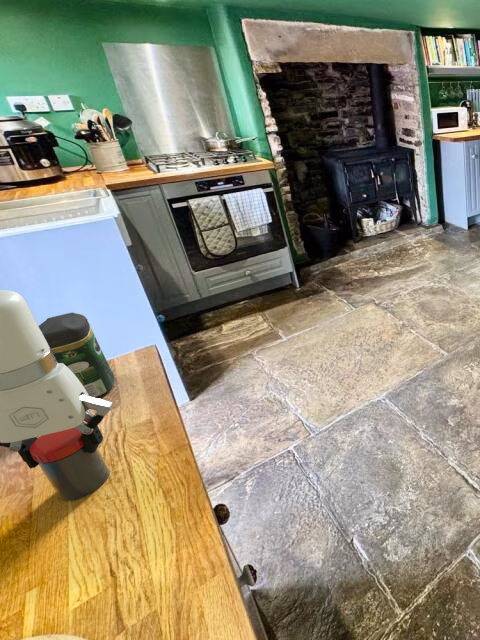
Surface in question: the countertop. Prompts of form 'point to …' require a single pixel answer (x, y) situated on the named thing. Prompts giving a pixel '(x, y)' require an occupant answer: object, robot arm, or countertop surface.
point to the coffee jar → (79, 351)
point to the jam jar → (76, 474)
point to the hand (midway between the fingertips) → (67, 453)
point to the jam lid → (56, 445)
